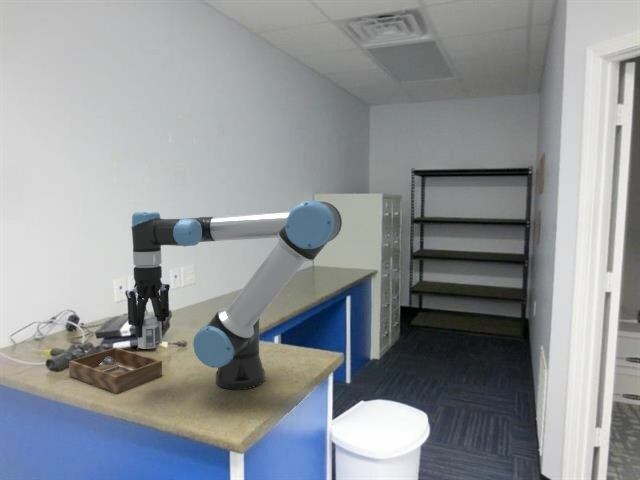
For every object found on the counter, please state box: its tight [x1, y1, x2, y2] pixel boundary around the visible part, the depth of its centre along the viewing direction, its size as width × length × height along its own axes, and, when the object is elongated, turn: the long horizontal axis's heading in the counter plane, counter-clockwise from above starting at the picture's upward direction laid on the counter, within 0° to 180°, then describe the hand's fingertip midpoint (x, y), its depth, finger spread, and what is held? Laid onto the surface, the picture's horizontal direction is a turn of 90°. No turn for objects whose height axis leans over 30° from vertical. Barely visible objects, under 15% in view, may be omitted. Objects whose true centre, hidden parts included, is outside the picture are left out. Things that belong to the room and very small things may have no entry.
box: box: [68, 346, 163, 395], centre depth 141 cm, size 24×16×5 cm, turn 58°
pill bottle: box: [143, 316, 160, 350], centre depth 129 cm, size 5×5×8 cm
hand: (150, 345), depth 129 cm, fingers closed on pill bottle, 5 cm apart
